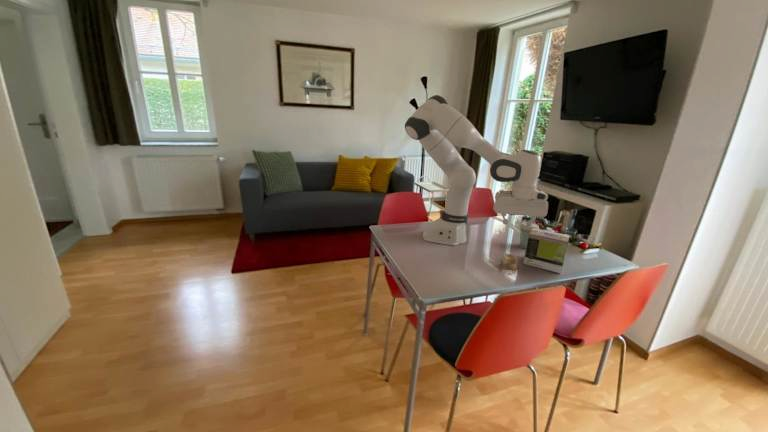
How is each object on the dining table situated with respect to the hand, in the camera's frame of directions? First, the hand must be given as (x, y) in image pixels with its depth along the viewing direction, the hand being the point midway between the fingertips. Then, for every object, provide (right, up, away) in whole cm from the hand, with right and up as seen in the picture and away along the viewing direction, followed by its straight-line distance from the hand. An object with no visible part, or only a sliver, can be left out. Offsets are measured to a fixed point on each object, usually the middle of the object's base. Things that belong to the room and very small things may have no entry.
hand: (516, 224), depth 131 cm
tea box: (+16, -18, +10) cm, 26 cm away
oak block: (-1, -18, +6) cm, 20 cm away
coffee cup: (+16, -12, +28) cm, 35 cm away
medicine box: (+27, -13, +28) cm, 41 cm away
